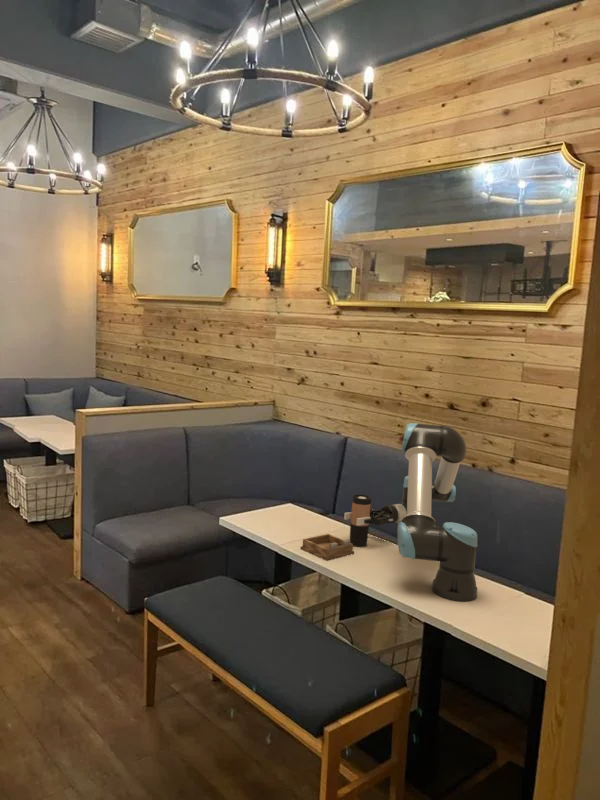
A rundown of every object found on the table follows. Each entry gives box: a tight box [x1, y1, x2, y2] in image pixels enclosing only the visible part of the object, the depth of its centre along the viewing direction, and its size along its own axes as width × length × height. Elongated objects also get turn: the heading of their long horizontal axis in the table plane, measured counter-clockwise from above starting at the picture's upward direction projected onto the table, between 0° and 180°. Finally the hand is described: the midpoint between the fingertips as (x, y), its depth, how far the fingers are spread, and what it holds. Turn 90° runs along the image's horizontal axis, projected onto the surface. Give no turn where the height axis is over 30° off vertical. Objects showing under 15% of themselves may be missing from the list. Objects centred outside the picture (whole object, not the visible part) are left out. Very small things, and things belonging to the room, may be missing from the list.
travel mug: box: [349, 493, 372, 548], centre depth 258 cm, size 8×8×20 cm
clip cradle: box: [300, 533, 355, 562], centre depth 247 cm, size 15×15×6 cm
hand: (351, 519), depth 255 cm, fingers closed on travel mug, 7 cm apart
